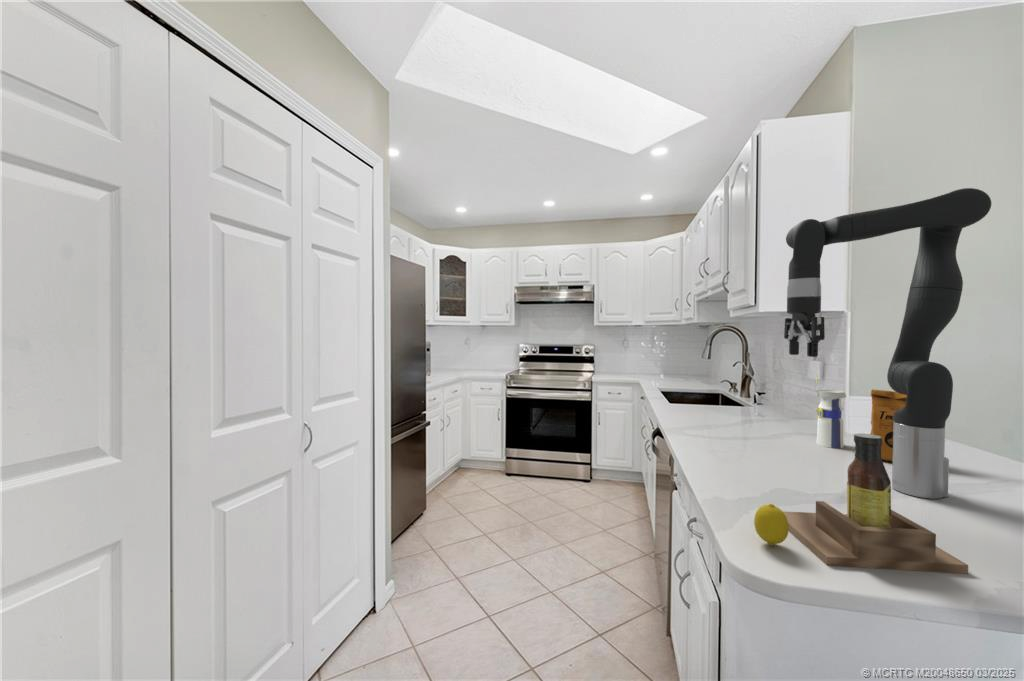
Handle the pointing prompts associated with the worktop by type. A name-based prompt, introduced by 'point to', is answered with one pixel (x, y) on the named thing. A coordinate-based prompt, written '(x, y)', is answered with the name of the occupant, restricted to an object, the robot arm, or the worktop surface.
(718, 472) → the worktop surface
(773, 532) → the lemon
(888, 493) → the sauce bottle
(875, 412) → the coffee package
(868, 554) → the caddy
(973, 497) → the worktop surface
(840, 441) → the white and blue bottle
